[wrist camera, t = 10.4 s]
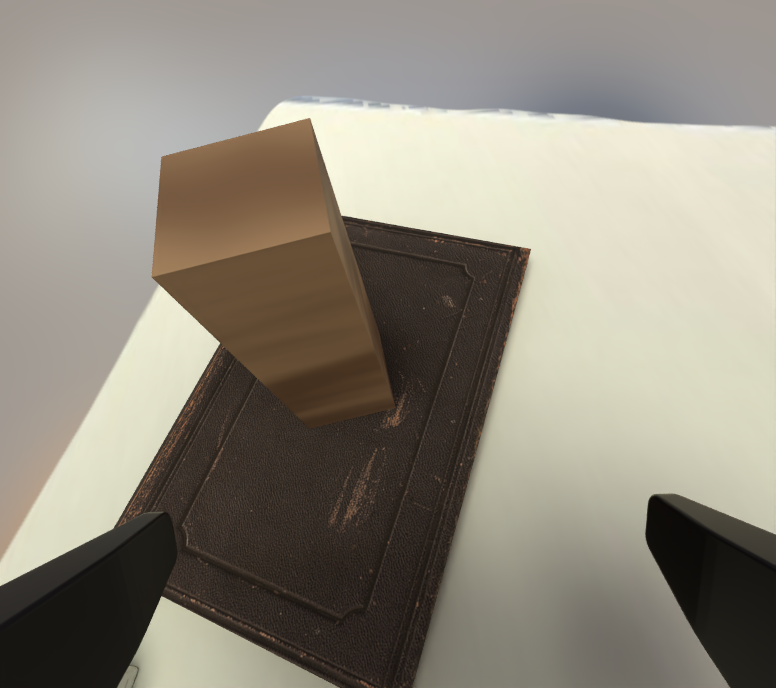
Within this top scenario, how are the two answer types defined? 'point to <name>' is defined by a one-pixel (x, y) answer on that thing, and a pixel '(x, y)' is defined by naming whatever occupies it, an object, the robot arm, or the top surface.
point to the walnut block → (272, 270)
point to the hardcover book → (342, 471)
